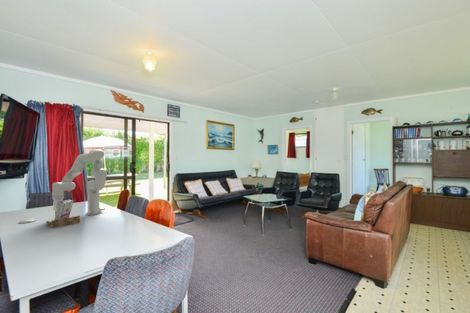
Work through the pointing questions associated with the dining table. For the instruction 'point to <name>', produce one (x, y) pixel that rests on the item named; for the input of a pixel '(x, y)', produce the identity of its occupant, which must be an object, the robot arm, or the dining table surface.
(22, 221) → the white dome
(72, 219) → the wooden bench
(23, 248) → the dining table surface
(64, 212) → the candy bar box
